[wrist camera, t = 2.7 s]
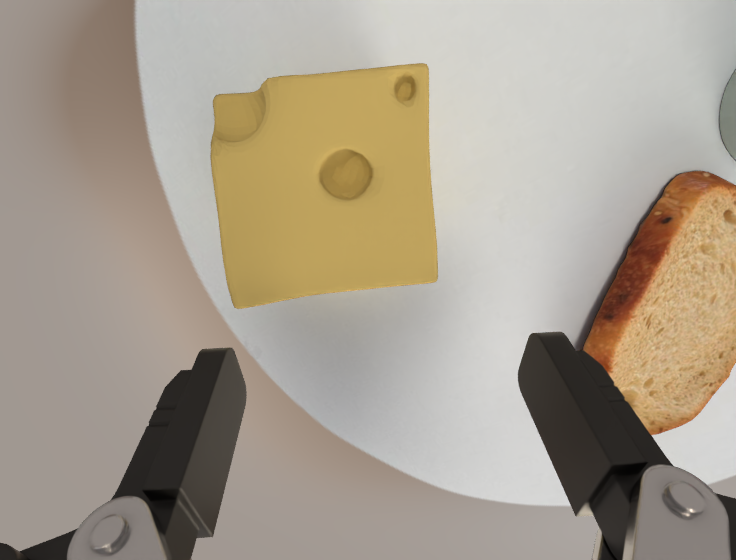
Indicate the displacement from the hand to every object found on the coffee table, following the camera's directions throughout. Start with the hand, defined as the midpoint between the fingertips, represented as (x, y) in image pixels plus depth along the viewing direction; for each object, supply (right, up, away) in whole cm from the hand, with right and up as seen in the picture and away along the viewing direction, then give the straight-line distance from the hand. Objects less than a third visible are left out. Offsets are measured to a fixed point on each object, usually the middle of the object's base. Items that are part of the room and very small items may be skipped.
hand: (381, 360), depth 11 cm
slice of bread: (+22, -1, +20) cm, 30 cm away
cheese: (-3, +9, +16) cm, 18 cm away
